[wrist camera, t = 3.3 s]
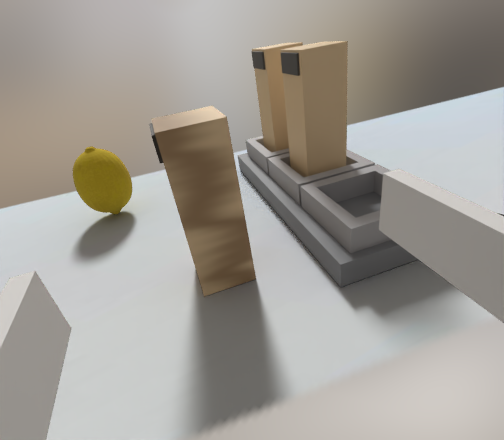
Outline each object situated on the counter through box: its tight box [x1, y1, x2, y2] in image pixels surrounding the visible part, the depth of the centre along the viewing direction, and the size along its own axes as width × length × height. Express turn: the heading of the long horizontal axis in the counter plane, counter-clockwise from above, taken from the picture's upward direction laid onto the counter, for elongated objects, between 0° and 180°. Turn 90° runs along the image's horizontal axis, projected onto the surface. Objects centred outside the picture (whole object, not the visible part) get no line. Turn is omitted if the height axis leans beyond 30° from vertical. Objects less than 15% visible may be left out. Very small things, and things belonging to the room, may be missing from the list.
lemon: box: [73, 147, 132, 214], centre depth 35 cm, size 6×6×8 cm
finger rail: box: [238, 41, 418, 287], centre depth 30 cm, size 10×25×14 cm, turn 18°
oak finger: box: [150, 106, 256, 296], centre depth 22 cm, size 4×4×12 cm
